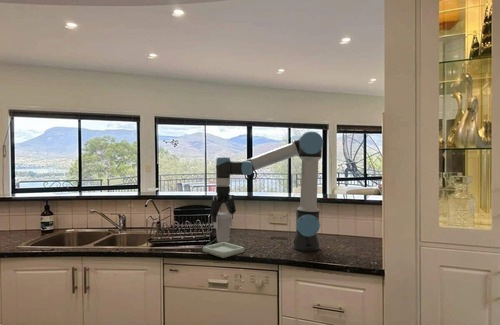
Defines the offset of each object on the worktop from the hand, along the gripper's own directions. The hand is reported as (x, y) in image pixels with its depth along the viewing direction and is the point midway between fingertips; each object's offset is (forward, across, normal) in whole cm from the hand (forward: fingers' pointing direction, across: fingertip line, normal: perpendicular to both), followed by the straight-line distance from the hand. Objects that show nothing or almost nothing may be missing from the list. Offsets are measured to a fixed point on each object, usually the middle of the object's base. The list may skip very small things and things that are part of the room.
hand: (223, 226), depth 176 cm
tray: (+14, 0, 0) cm, 14 cm away
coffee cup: (+8, 0, 0) cm, 8 cm away
